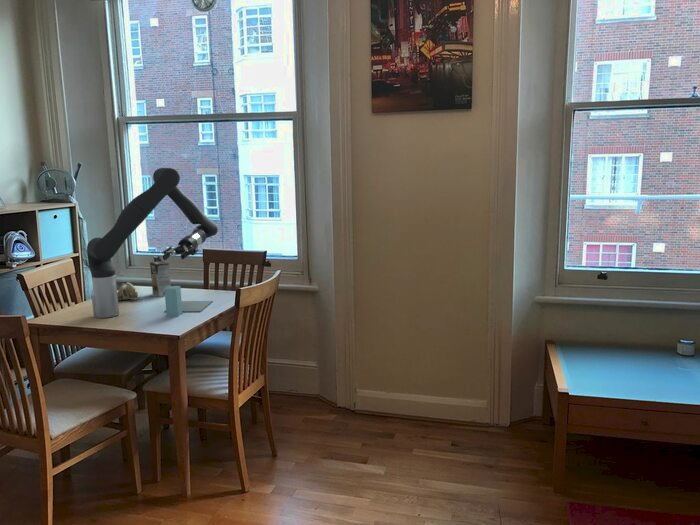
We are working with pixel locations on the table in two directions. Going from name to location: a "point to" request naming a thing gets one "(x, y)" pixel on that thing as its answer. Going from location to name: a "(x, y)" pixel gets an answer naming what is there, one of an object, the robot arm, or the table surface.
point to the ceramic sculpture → (127, 291)
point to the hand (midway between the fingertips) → (172, 257)
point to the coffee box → (160, 277)
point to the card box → (173, 301)
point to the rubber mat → (194, 306)
